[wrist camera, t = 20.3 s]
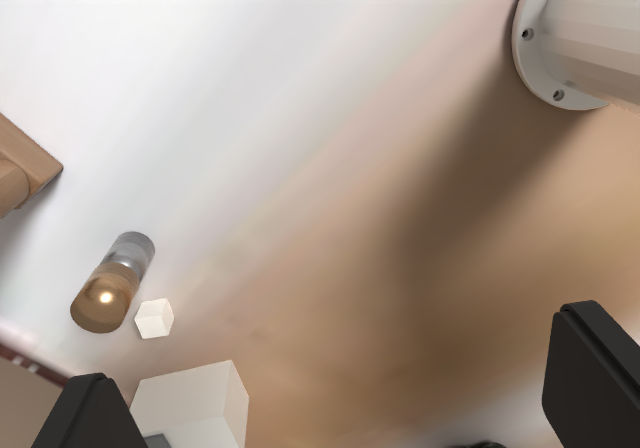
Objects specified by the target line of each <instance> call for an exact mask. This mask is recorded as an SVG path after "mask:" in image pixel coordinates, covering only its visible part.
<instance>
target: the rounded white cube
mask: <svg viewBox="0 0 640 448" xmlns="http://www.w3.org/2000/svg"><path fill="white" fill-rule="evenodd" d="M134 320H135V322H136V324H137V327H138V329H139V331H140V334H141V336H142V338H143V339H147V338H153V337H160V336H167V335H169V332H170V329H171V326H172V323H173V320H174V315H173V312H172V310H171V307H170V304H169V302H168V299H167V298H164V299H158V300H151V301H144V302H142V303H141V306H140V308H139V310H138V312H137V314H136V316H135V319H134Z"/></svg>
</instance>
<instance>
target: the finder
mask: <svg viewBox="0 0 640 448" xmlns="http://www.w3.org/2000/svg"><path fill="white" fill-rule="evenodd" d="M248 405H249V396H248V394H247V392H246V390H245V388H244V386H243V383H242V381H241V379H240V377H239V375H238V373H237V370H236V368H235V366H234V364H233V362H232V360H227V361H223V362H218V363H214V364H209V365H205V366H200V367H196V368H191V369H187V370H183V371H178V372H174V373H169V374H165V375H160V376H156V377H151V378H147V379H142V380H140V383H139V386H138V388H137V391H136V394H135V396H134V399H133V402H132V404H131V407H130V410H129V411H130V413H131V414H132V416H133V418H134V420H135V422H136V424H137V426H138V428H139V430H140V432H141V434H142V436H143V438H144V440H145V442H146V444H147V446H148V448H244V446H245V436H246V425H247V415H248Z"/></svg>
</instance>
